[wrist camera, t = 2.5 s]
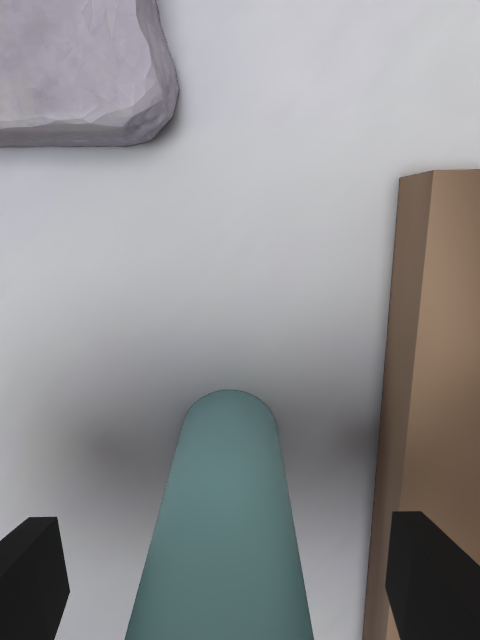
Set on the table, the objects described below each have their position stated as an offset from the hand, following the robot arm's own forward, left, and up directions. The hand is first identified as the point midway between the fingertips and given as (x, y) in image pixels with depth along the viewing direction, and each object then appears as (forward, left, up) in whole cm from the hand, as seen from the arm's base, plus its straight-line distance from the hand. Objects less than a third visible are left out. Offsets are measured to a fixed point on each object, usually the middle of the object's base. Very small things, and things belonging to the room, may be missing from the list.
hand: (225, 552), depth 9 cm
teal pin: (0, 0, -5) cm, 5 cm away
